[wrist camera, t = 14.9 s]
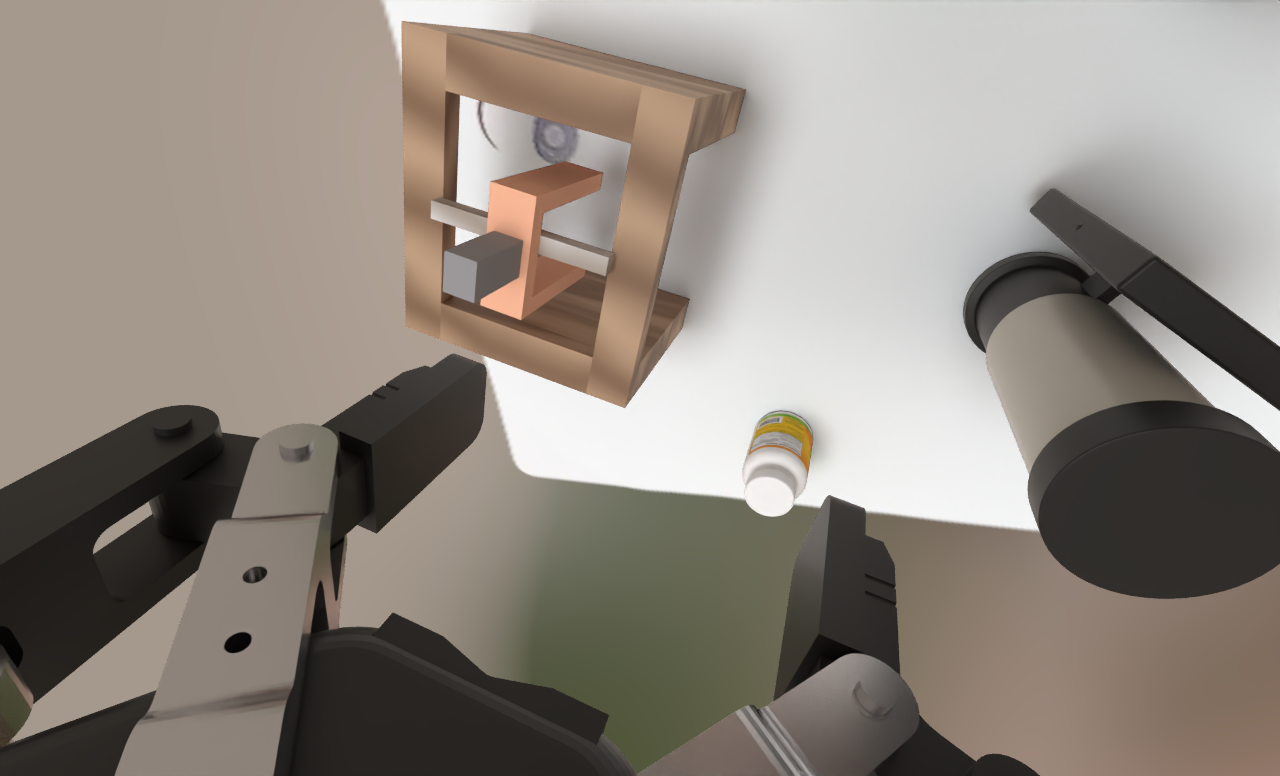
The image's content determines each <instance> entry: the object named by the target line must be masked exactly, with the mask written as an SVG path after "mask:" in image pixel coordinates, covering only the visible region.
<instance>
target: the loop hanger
mask: <svg viewBox="0 0 1280 776" xmlns="http://www.w3.org/2000/svg"><path fill="white" fill-rule="evenodd" d="M602 176H603V173H601V172H598V171H595V170H592V169H589V168H585V167H582V166H579V165H576V164H573V163H569V162H566V161H565V162H561V163H557V164H554V165H550V166H546V167H543V168H539V169H535V170H531V171H528V172H524V173H520V174H517V175H513V176H509V177H506V178H502V179H498V180H495V181H491V184H490V196H489V208H488V220H487V232H486V234H484V235H482V236H479V237H477V238H474V239H472V240H469V241H467V242H465V243H462V244H460V245H457V246H455V247H452V248H450V249H447V250H445V252H444V274H443V292H445V293H448V294H451V295H453V296H456V297H459V298H462V299H464V300H467V301H470V302H472V303H475V302H477V301H479V300H480V299H481V303H480V305H481V306H484V307H487V308H490V309H492V310H495V311H498V312H500V313H503V314H506V315H508V316H511V317H514V318H517V319H519V320H522V319H523V318H525V317H526V316H528V315H529V314H531V313H532V312H533V311H535V310H536V309H538V308H539V307H541V306H542V305H543V304H545V303H546V302H548V301H549V300H551V299H552V298H553V297H555V296H556V295H558V294H559V293H561V292H562V291H564V290H565V289H566V288H568V287H569V286H571V285H572V284H574V283H575V282H576V281H578V280H579V279H581V278H582V277H584V275H585V269H582V268H579V267H576V266H573V265H570V264H567V263H564V262H561V261H558V260H555V259H552V258H549V257H546V256H543V255H542V256H540V257H538V250H539V243H540V235H541V228H542V220H543V213H545V212H547V211H550V210H552V209H555V208H557V207H559V206H562V205H564V204H567V203H569V202H571V201H574V200H576V199H579V198H581V197H584V196H586V195H588V194H591V193H593V192H596V191H598V190H600V187H601V181H602ZM537 257H538V258H537Z"/></svg>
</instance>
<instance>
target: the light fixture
mask: <svg viewBox="0 0 1280 776" xmlns="http://www.w3.org/2000/svg"><path fill="white" fill-rule="evenodd" d="M1030 212H1031V213H1032V214H1033V215H1034V216H1035V217H1036V218H1037V219H1038V220H1039V221H1041V222H1042V223H1043V224H1044V225H1045V226H1046V227H1047V228H1048V229H1049V230H1051V231H1052V232H1053V233H1054V234H1055V235H1056V236H1057V237H1058V238H1059V239H1061V240H1062V241H1063V242H1064V243H1065V244H1066V245H1067V246H1068V247H1069V248H1071V249H1072V250H1073V251H1074V252H1075V253H1076V254H1077V255H1078V256H1079V257H1081V258H1082V259H1083V260H1084V261H1085V262H1086V263H1087V264H1088V265H1090V266H1091V267H1092V268H1093V269H1094V270H1095V271H1096V273H1094V274H1093V275H1092V276H1091V277H1090V276H1089V275H1088V274H1087V273H1086V272H1085V271H1084V270H1083V269H1082V268H1081V267H1080V266H1079V265H1077V264H1076V263H1075V262H1073V261H1071V260H1070V259H1068V258H1065V257H1063V256H1060V255H1056V254H1052V253H1045V252H1031V253H1023V254H1018V255H1015V256H1011V257H1009V258H1006V259H1004V260H1002V261H1000V262H998V263H996V264H994V265H993V266H991V267H990V268H988V269H987V270H986V271H984V272H983V273H982V274H981V275H980V276H979V277H978V278H977V279H976V281H975V282H974V283H973V285H972V286H971V288H970V289H969V291H968V293H967V296H966V299H965V302H964V308H963V317H964V323H965V326H966V329H967V331H968V334H969V336H970V338H971V339H972V341H973V342H974V344H975V345H976V346H977V347H978V348H979V349H981V350H982V351H983V352H984V353H986V364H987V368H988V371H989V374H990V376H991V379H992V381H993V384H994V386H995V389H996V391H997V394H998V396H999V399H1000V402H1001V404H1002V407H1003V409H1004V412H1005V414H1006V417H1007V419H1008V422H1009V424H1010V427H1011V429H1012V432H1013V435H1014V437H1015V440H1016V442H1017V445H1018V447H1019V450H1020V452H1021V455H1022V457H1023V460H1024V463H1025V465H1026V468H1027V470H1028V473H1029V480H1028V498H1029V502H1030V506H1031V509H1032V512H1033V514H1034V517H1035V520H1036V523H1037V525H1038V528H1039V531H1040V533H1041V536H1042V538H1043V541H1044V543H1045V545H1046V546H1047V548H1048V550H1049V551H1050V552H1051V554H1052V555H1053V556H1054V558H1055V559H1056V560H1057V561H1058V562H1059V563H1060V564H1061V565H1062V566H1064V567H1065V568H1066V569H1067V570H1069V571H1070V572H1072V573H1073V574H1074V575H1076V576H1077V577H1079V578H1081V579H1083V580H1085V581H1087V582H1089V583H1091V584H1093V585H1096V586H1098V587H1101V588H1104V589H1107V590H1110V591H1113V592H1117V593H1121V594H1126V595H1130V596H1138V597H1144V598H1158V599H1161V598H1162V599H1174V598H1188V597H1197V596H1203V595H1209V594H1213V593H1218V592H1221V591H1225V590H1228V589H1232V588H1235V587H1238V586H1240V585H1242V584H1245V583H1248V582H1250V581H1252V580H1254V579H1256V578H1258V577H1260V576H1262V575H1263V574H1265V573H1267V572H1268V571H1270V570H1271V569H1273V568H1274V567H1276V566H1277V565H1278V564H1280V452H1279V451H1278V450H1277V449H1276V448H1275V447H1274V446H1273V445H1272V444H1271V443H1270V442H1269V441H1268V440H1267V439H1265V438H1264V437H1263V436H1262V435H1261V434H1260V433H1259V432H1258V431H1257V430H1255V429H1254V428H1253V427H1252V426H1251V425H1249V424H1248V423H1246V422H1245V421H1243V420H1242V419H1240V418H1238V417H1236V416H1234V415H1232V414H1230V413H1227V412H1225V411H1222V410H1220V409H1217V408H1215V407H1214V406H1213V405H1212V404H1211V403H1210V402H1209V401H1208V400H1207V399H1206V398H1205V397H1204V396H1203V395H1202V394H1201V393H1200V392H1199V391H1198V390H1197V389H1196V388H1195V387H1194V386H1193V385H1192V384H1191V383H1190V382H1189V381H1188V380H1187V379H1186V378H1185V377H1184V376H1183V375H1182V374H1181V373H1180V372H1179V371H1178V370H1177V369H1175V368H1174V367H1173V366H1172V365H1171V364H1170V363H1169V362H1168V361H1167V360H1166V359H1165V358H1164V357H1163V356H1162V355H1161V354H1160V353H1159V352H1158V351H1157V350H1156V349H1155V348H1154V347H1153V346H1152V345H1151V344H1150V343H1149V342H1148V341H1147V340H1146V339H1145V338H1144V337H1143V336H1142V335H1141V334H1140V333H1139V332H1138V331H1137V330H1136V329H1135V328H1134V327H1133V326H1132V325H1131V324H1130V323H1129V322H1128V321H1127V320H1126V319H1125V318H1124V317H1123V316H1122V315H1121V314H1120V313H1119V312H1118V311H1116V310H1115V309H1114V308H1113V307H1111V306H1110V305H1108V303H1110V302H1111V301H1112V300H1114V299H1115V298H1116V297H1117V296H1119V295H1120V294H1123V295H1124V296H1125V297H1127V298H1128V299H1130V300H1131V301H1132V302H1134V303H1135V304H1136V305H1138V306H1139V307H1140V308H1142V309H1143V310H1144V311H1146V312H1147V313H1148V314H1150V315H1151V316H1152V317H1154V318H1155V319H1157V320H1158V321H1159V322H1161V323H1162V324H1163V325H1165V326H1166V327H1167V328H1169V329H1170V330H1171V331H1173V332H1174V333H1175V334H1177V335H1178V336H1179V337H1181V338H1182V339H1184V340H1185V341H1186V342H1188V343H1189V344H1190V345H1192V346H1193V347H1194V348H1196V349H1197V350H1198V351H1200V352H1201V353H1202V354H1204V355H1205V356H1206V357H1208V358H1209V359H1210V360H1212V361H1213V362H1215V363H1216V364H1217V365H1219V366H1220V367H1221V368H1223V369H1224V370H1225V371H1227V372H1228V373H1229V374H1231V375H1232V376H1233V377H1235V378H1236V379H1237V380H1239V381H1240V382H1242V383H1243V384H1244V385H1246V386H1247V387H1248V388H1250V389H1251V390H1252V391H1254V392H1255V393H1256V394H1258V395H1259V396H1260V397H1262V398H1263V399H1264V400H1266V401H1267V402H1269V403H1270V404H1271V405H1273V406H1274V407H1275V408H1277V409H1278V410H1279V411H1280V347H1279V346H1278V345H1277V344H1275V343H1274V342H1273V341H1271V340H1270V339H1269V338H1267V337H1266V336H1265V335H1263V334H1262V333H1261V332H1259V331H1258V330H1257V329H1255V328H1254V327H1253V326H1251V325H1250V324H1248V323H1247V322H1246V321H1244V320H1243V319H1242V318H1240V317H1239V316H1238V315H1236V314H1235V313H1234V312H1232V311H1231V310H1230V309H1228V308H1227V307H1226V306H1224V305H1223V304H1222V303H1220V302H1219V301H1217V300H1216V299H1215V298H1213V297H1212V296H1211V295H1209V294H1208V293H1207V292H1205V291H1204V290H1203V289H1201V288H1200V287H1199V286H1197V285H1196V284H1195V283H1193V282H1192V281H1191V280H1189V279H1188V278H1186V277H1185V276H1184V275H1182V274H1181V273H1180V272H1178V271H1177V270H1176V269H1174V268H1173V267H1172V266H1170V265H1169V264H1168V263H1166V262H1165V261H1164V260H1162V259H1161V258H1160V257H1158V256H1157V255H1155V254H1154V253H1152V252H1150V251H1149V250H1147V249H1146V248H1144V247H1143V246H1141V245H1140V244H1138V243H1137V242H1135V241H1134V240H1132V239H1131V238H1129V237H1128V236H1126V235H1125V234H1123V233H1121V232H1120V231H1118V230H1117V229H1115V228H1114V227H1112V226H1111V225H1109V224H1108V223H1106V222H1105V221H1103V220H1102V219H1100V218H1099V217H1097V216H1095V215H1094V214H1092V213H1091V212H1089V211H1088V210H1086V209H1085V208H1083V207H1082V206H1080V205H1079V204H1077V203H1076V202H1074V201H1073V200H1071V199H1069V198H1068V197H1066V196H1065V195H1063V194H1062V193H1060V192H1059V191H1057V190H1056V189H1050V190H1049V191H1048V192H1047V193H1046V194H1045V195H1044V196H1043V197H1042V198H1041V199H1040V200H1039V201H1038V202H1037V203H1036V204H1035V205H1034V206H1033V207H1032V208H1031V209H1030Z"/></svg>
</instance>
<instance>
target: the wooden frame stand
mask: <svg viewBox="0 0 1280 776" xmlns="http://www.w3.org/2000/svg"><path fill="white" fill-rule="evenodd" d="M402 88H403V159H404V227H405V228H404V229H405V296H406V297H405V300H406V327H408V328H411V329H414V330H416V331H419V332H422V333H425V334H427V335H430V336H433V337H435V338H438V339H440V340H443V341H446V342H449V343H451V344H454V345H457V346H460V347H462V348H465V349H467V350H470V351H473V352H475V353H478V354H481V355H483V356H486V357H489V358H492V359H494V360H497V361H500V362H502V363H505V364H508V365H510V366H513V367H516V368H518V369H521V370H524V371H527V372H529V373H532V374H535V375H537V376H540V377H543V378H545V379H548V380H551V381H553V382H556V383H559V384H562V385H564V386H567V387H570V388H572V389H575V390H578V391H580V392H583V393H586V394H588V395H591V396H594V397H596V398H599V399H602V400H605V401H607V402H610V403H613V404H615V405H618V406H621V407H623V408H625V407H626V406H627V404H628V403H629V402H630V400H631V399H632V397H633V396H634V395H635V393H636V392H637V390H638V389H639V388H640V386H641V385H642V383H643V382H644V381H645V379H646V378H647V377H648V375H649V374H650V372H651V371H652V370H653V368H654V367H655V365H656V364H657V363H658V361H659V360H660V358H661V357H662V356H663V354H664V353H665V351H666V350H667V349H668V347H669V346H670V344H671V343H672V342H673V340H674V339H675V337H676V336H677V335H678V333H679V332H680V330H681V329H682V326H683V322H684V318H685V314H686V311H687V307H688V303H689V300H690V299H687V298H684V297H681V296H678V295H675V294H672V293H669V292H666V291H663V290H660V289H658V285H659V281H660V277H661V272H662V268H663V264H664V259H665V255H666V251H667V247H668V242H669V238H670V234H671V230H672V225H673V221H674V217H675V213H676V208H677V204H678V200H679V195H680V191H681V187H682V183H683V178H684V174H685V170H686V166H687V161H688V157H689V154H691V153H693V152H696V151H698V150H700V149H702V148H704V147H706V146H708V145H710V144H712V143H714V142H716V141H718V140H720V139H722V138H724V137H726V136H729V135H731V134H733V133H734V132H735V128H736V124H737V121H738V117H739V113H740V109H741V106H742V102H743V98H744V95H745V91H746V89H742V88H738V87H734V86H730V85H726V84H722V83H718V82H714V81H711V80H707V79H703V78H699V77H695V76H691V75H687V74H683V73H679V72H675V71H672V70H668V69H664V68H660V67H656V66H652V65H648V64H644V63H640V62H636V61H633V60H629V59H625V58H621V57H617V56H613V55H609V54H605V53H601V52H598V51H594V50H590V49H586V48H582V47H578V46H574V45H570V44H566V43H562V42H559V41H555V40H551V39H547V38H543V37H539V36H535V35H531V34H527V33H517V32H507V31H497V30H487V29H477V28H467V27H457V26H446V25H436V24H426V23H416V22H406V21H402ZM460 95H462V96H466V97H469V98H473V99H476V100H480V101H483V102H487V103H490V104H494V105H497V106H501V107H504V108H508V109H511V110H515V111H518V112H522V113H525V114H529V115H532V116H536V117H540V118H543V119H547V120H550V121H554V122H557V123H561V124H564V125H568V126H571V127H575V128H578V129H582V130H585V131H589V132H592V133H596V134H599V135H603V136H606V137H610V138H613V139H617V140H620V141H624V142H628V143H631V144H632V145H631V150H630V156H629V161H628V167H627V172H626V177H625V183H624V188H623V194H622V199H621V205H620V210H619V216H618V221H617V227H616V232H615V238H614V243H613V249H612V252H609V251H606V250H603V249H600V248H597V247H594V246H590V245H587V244H584V243H581V242H578V241H575V240H572V239H569V238H566V237H563V236H559V235H556V234H553V233H550V232H547V231H544V230H541V235H540V243H539V250H538V257H540V256H542V255H543V256H546V257H549V258H552V259H555V260H558V261H561V262H564V263H567V264H570V265H573V266H576V267H579V268H582V269H585V275H584V277H582V278H581V279H579V280H578V281H576V282H575V283H574V284H572V285H571V286H569V287H568V288H566V289H565V290H564V291H562V292H561V293H559V294H558V295H556V296H555V297H553V298H552V299H551V300H549V301H548V302H546V303H545V304H543V305H542V306H541V307H539V308H538V309H536V310H535V311H533V312H532V313H531V314H529V315H528V316H526V317H525V318H523V319H522V320H519V319H517V318H514V317H511V316H508V315H506V314H503V313H500V312H498V311H495V310H492V309H490V308H487V307H484V306H481V305H480V303H481V299H480V300H479V301H477V302H475V303H472V302H470V301H467V300H464V299H462V298H459V297H456V296H453V295H451V294H448V293H445V292H443V274H444V252H445V250H447V249H450V248H452V247H455V227H458V228H461V229H464V230H467V231H470V232H473V233H476V234H479V235H484V234H486V232H487V220H488V212H485V211H482V210H479V209H476V208H472V207H469V206H466V205H463V204H460V203H457V202H456V196H457V166H458V136H459V106H460ZM538 257H537V258H538Z"/></svg>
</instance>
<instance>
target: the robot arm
mask: <svg viewBox="0 0 1280 776" xmlns="http://www.w3.org/2000/svg"><path fill="white" fill-rule="evenodd" d="M486 374H487V372H486V367H485V365H483V364H481V363H478V362H475V361H473V360H470V359H467V358H465V357H462V356H460V355H457V354H451V355H449V356H447V357H446V358H444V359H443V360H441V361H440V362H439V363H437V364H436V365H434V366H433V367H431V368H430V367H428V366H423V367H419V368H417V369H413V370H409V371H406V372H403V373H402V374H400V375H398V376H397V377H395V378H394V379H392V380H391V381H389V382H388V383H387V384H386V386H382V387H380V388H379V389H377V390H375V391H374V392H373V394H372V395H368V396H366V397H365V398H363V399H362V400H360V401H359V402H357V403H356V404H354V405H353V406H351V407H350V408H348V409H346V410H345V411H344V412H342V413H340V414H339V415H337V416H336V417H334V418H333V419H331V420H330V421H329V422H327V423H325V424H324V425H322V426H319V425H314V424H292V425H287V426H283V427H280V428H277V429H275V430H272V431H270V432H268V433H267V434H265V435H264V436H262V437H261V438H256V437H249V436H242V435H235V434H228V433H222V431H221V427H220V423H219V419H218V416H217V415H216V414H215V413H214V412H213V411H211V410H209V409H207V408H204V407H200V406H193V405H178V406H170V407H164V408H160V409H157V410H154V411H151V412H148V413H146V414H144V415H142V416H140V417H138V418H136V419H134V420H132V421H130V422H128V423H126V424H125V425H123V426H121V427H119V428H117V429H115V430H113V431H111V432H109V433H107V434H105V435H104V436H102V437H100V438H98V439H96V440H94V441H92V442H90V443H88V444H86V445H85V446H82V447H81V448H79V449H77V450H75V451H73V452H71V453H69V454H67V455H65V456H63V457H61V458H60V459H58V460H56V461H54V462H52V463H50V464H48V465H46V466H44V467H42V468H40V469H38V470H37V471H35V472H33V473H31V474H29V475H27V476H25V477H23V478H21V479H20V480H18V481H16V482H14V483H12V484H10V485H8V486H6V487H4V488H2V489H0V776H1040V775H1038V774H1037V773H1036V772H1035V771H1034V770H1032V769H1031V768H1029V767H1028V766H1027V765H1025V764H1023V763H1022V762H1020V761H1018V760H1016V759H1014V758H1011V757H1009V756H1005V755H1001V754H988V755H985V756H983V757H981V758H980V759H978V760H977V761H975V760H973V759H972V758H971V757H969V756H968V755H967V754H965V753H964V752H963V751H961V750H960V749H959V748H957V747H956V746H955V745H953V744H952V743H951V742H949V741H948V740H947V739H945V738H944V737H942V736H941V735H940V734H939V733H937V732H936V731H935V730H934V729H933V728H932V727H930V726H929V725H928V724H927V723H926V722H925V721H924V720H923V718H922V717H921V716H920V715H919V709H918V704H917V702H916V699H915V697H914V695H913V693H912V691H911V689H910V688H909V686H908V685H907V683H906V682H905V681H904V680H903V679H902V677H901V676H900V663H899V644H898V625H897V608H896V607H895V605H896V590H895V586H896V584H895V565H894V562H893V561H892V559H891V557H890V555H889V553H888V551H887V549H886V547H885V545H884V543H883V542H882V541H879V540H876V539H874V538H871V537H869V536H866V535H865V521H866V518H865V516H866V515H865V514H866V513H865V509H864V508H862V507H859V506H857V505H854V504H851V503H849V502H846V501H843V500H841V499H838V498H835V497H833V496H830V495H828V496H827V497H826V499H825V500H824V502H823V504H822V506H821V508H820V510H819V512H818V514H817V516H816V518H815V520H814V522H813V524H812V526H811V528H810V530H809V532H808V534H807V536H806V538H805V540H804V542H803V544H802V546H801V549H800V551H799V554H798V556H797V559H796V562H795V566H794V570H793V574H792V581H791V587H790V594H789V601H788V607H787V614H786V620H785V627H784V634H783V640H782V647H781V654H780V660H779V667H778V673H777V680H776V686H775V694H774V700H773V702H772V703H770V704H769V705H767V706H766V707H764V708H762V709H759V710H758V709H757V708H756V707H755V706H754V705H748V706H745V707H743V708H741V709H739V710H738V711H736V712H734V713H733V714H731V715H730V716H728V717H727V718H725V719H723V720H722V721H720V722H719V723H717V724H715V725H714V726H712V727H711V728H710V729H708V730H706V731H704V732H703V733H701V734H700V735H698V736H697V737H695V738H694V739H692V740H690V741H689V742H687V743H686V744H684V745H682V746H681V747H679V748H678V749H676V750H675V751H673V752H671V753H670V754H668V755H667V756H665V757H664V758H662V759H660V760H659V761H657V762H656V763H654V764H653V765H651V766H650V767H648V768H646V769H645V770H643V771H642V772H640V773H638V774H636V772H635V771H634V769H633V767H632V766H631V764H630V763H629V762H628V760H627V759H626V757H625V756H624V755H623V754H622V752H621V751H620V750H619V749H618V748H617V747H616V746H615V745H614V743H612V742H611V741H610V740H609V739H608V738H607V737H606V736H604V735H603V733H604V729H605V726H606V723H607V720H608V717H609V715H608V714H606V713H603V712H601V711H599V710H597V709H595V708H593V707H591V706H589V705H586V704H584V703H582V702H580V701H578V700H576V699H574V698H572V697H570V696H568V695H565V694H563V693H561V692H559V691H557V690H555V689H553V688H548V687H542V686H537V685H532V684H526V683H521V682H516V681H510V680H505V679H500V678H494V677H491V676H489V675H486V674H485V673H484V672H483V671H481V670H480V669H479V668H478V667H477V666H476V665H475V664H473V663H472V662H471V661H470V660H469V659H468V658H467V657H466V656H465V655H463V654H462V653H461V652H460V651H459V650H458V649H457V648H456V647H454V646H453V645H452V644H451V643H450V642H449V641H448V640H447V639H445V638H444V637H443V636H441V635H439V634H437V633H435V632H433V631H431V630H429V629H427V628H424V627H422V626H420V625H418V624H416V623H414V622H412V621H410V620H407V619H405V618H403V617H401V616H399V615H397V614H395V613H392V614H391V615H390V616H389V618H388V619H387V620H386V621H385V622H384V623H383V624H382V626H381V627H380V628H372V627H343V628H339V619H340V608H341V598H342V588H343V579H344V570H345V560H346V551H347V533H348V532H350V531H351V530H352V529H353V528H354V527H355V526H356V525H359V526H361V527H363V528H366V529H368V530H370V531H372V532H374V533H378V532H379V531H380V530H381V529H382V528H383V527H384V526H385V525H386V524H387V523H388V522H389V521H390V520H391V519H393V518H394V517H395V516H396V515H397V514H398V513H399V512H400V511H401V510H402V509H403V508H404V507H405V506H406V505H407V504H408V503H409V502H410V501H412V500H413V499H414V498H415V497H416V496H417V495H418V494H419V493H420V492H421V491H422V490H423V489H424V488H425V487H426V486H427V485H428V484H430V483H431V482H432V481H433V480H434V479H435V478H436V477H437V476H438V475H439V474H440V473H441V472H442V471H443V470H444V469H445V468H446V467H447V466H449V465H450V464H451V463H452V462H453V461H454V460H455V459H456V458H457V457H458V456H459V455H460V454H461V453H462V452H463V451H464V450H465V449H467V448H468V447H469V446H470V445H471V444H472V443H473V441H474V440H475V439H476V437H477V435H478V433H479V431H480V429H481V426H482V423H483V417H484V403H485V388H486ZM148 501H149V504H150V507H151V510H152V513H153V514H152V515H151V516H149V517H148V518H146V519H145V520H143V521H142V522H140V523H139V524H137V525H136V526H134V527H133V528H131V529H130V530H128V531H127V532H126V533H124V534H123V535H121V536H120V537H118V538H117V539H115V540H114V541H112V542H111V543H109V544H108V545H107V546H105V547H103V548H102V549H100V550H99V551H98V552H96V553H94V554H93V548H94V545H95V543H96V541H97V539H98V537H100V535H101V534H102V533H103V532H104V531H105V530H106V529H107V528H109V527H110V526H112V525H113V524H115V523H116V522H118V521H119V520H120V519H122V518H124V517H125V516H127V515H128V514H130V513H131V512H133V511H135V510H136V509H138V508H139V507H141V506H142V505H144V504H145V503H147V502H148ZM197 570H198V572H197V575H196V578H195V581H194V583H193V586H192V589H191V593H190V595H189V598H188V601H187V604H186V607H185V610H184V613H183V615H182V618H181V621H180V624H179V627H178V630H177V633H176V636H175V639H174V641H173V644H172V647H171V650H170V653H169V656H168V659H167V662H166V665H165V668H164V670H163V673H162V677H161V679H160V682H159V685H158V688H157V690H156V691H153V692H150V693H148V694H145V695H142V696H139V697H136V698H134V699H131V700H128V701H125V702H123V703H120V704H117V705H115V706H112V707H109V708H106V709H103V710H101V711H98V712H95V713H92V714H90V715H87V716H84V717H81V718H79V719H76V720H73V721H70V722H68V723H65V724H62V725H59V726H57V727H54V728H51V729H49V730H46V731H43V732H40V733H37V734H35V735H32V736H29V737H26V738H24V739H21V740H18V741H15V742H14V741H13V739H12V738H13V737H14V736H15V735H16V734H17V733H18V732H19V730H20V729H21V728H22V727H23V725H24V724H25V722H26V721H27V719H28V717H29V715H30V713H31V710H32V707H33V704H34V703H35V702H37V701H38V700H39V699H40V698H41V697H43V696H44V695H45V694H46V693H48V692H49V691H50V690H51V689H52V688H54V687H55V686H56V685H57V684H59V683H60V682H61V681H62V680H63V679H65V678H66V677H67V676H69V675H70V674H71V673H72V672H73V671H75V670H76V669H77V668H78V667H79V666H81V665H82V664H83V663H84V662H86V661H87V660H88V659H89V658H91V657H92V656H93V655H94V654H95V653H97V652H98V651H99V650H100V649H102V648H103V647H104V646H105V645H106V644H108V643H109V642H110V641H111V640H113V639H114V638H115V637H116V636H118V635H119V634H120V633H121V632H122V631H124V630H125V629H126V628H127V627H129V626H130V625H131V624H132V623H134V622H135V621H136V620H137V619H138V618H140V617H141V616H142V615H143V614H145V613H146V612H147V611H148V610H149V609H151V608H152V607H153V606H154V605H155V604H157V603H158V602H159V601H160V600H161V599H163V598H164V597H165V596H166V595H168V594H169V593H170V592H172V591H173V590H174V589H175V588H176V587H178V586H179V585H180V584H181V583H182V582H184V581H185V580H186V579H187V578H189V577H190V576H191V575H192V574H193V573H195V572H196V571H197Z"/></svg>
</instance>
